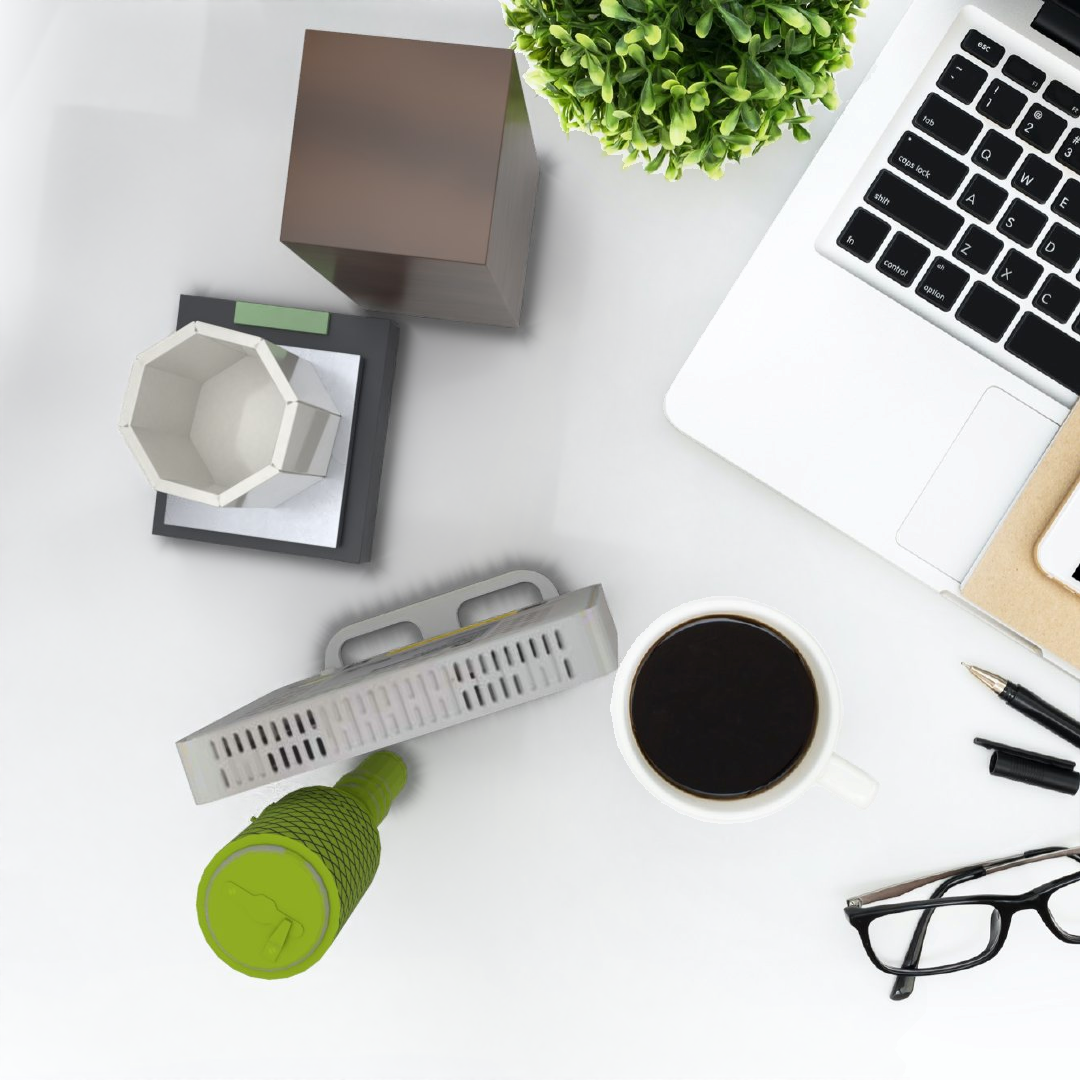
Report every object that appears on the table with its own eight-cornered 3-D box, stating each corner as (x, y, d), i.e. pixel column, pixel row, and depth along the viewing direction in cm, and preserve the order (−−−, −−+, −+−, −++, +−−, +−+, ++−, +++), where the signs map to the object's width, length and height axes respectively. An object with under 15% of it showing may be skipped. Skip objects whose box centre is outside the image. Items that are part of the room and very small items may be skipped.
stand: (383, 151, 71) (305, 28, 53) (540, 168, 70) (514, 48, 52) (363, 309, 71) (278, 241, 53) (518, 328, 70) (485, 265, 52)
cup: (208, 334, 68) (146, 307, 59) (352, 372, 67) (311, 350, 58) (172, 481, 68) (104, 476, 59) (314, 520, 67) (268, 521, 58)
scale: (198, 302, 72) (177, 292, 69) (400, 327, 71) (389, 318, 67) (170, 533, 73) (148, 534, 69) (370, 562, 72) (358, 564, 68)
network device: (312, 755, 72) (198, 848, 52) (277, 649, 72) (148, 701, 52) (626, 655, 70) (631, 712, 50) (589, 545, 70) (580, 558, 50)
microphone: (450, 756, 71) (363, 887, 47) (402, 840, 72) (291, 1014, 47) (360, 703, 72) (226, 805, 47) (313, 787, 72) (156, 932, 47)
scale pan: (192, 335, 69) (186, 333, 68) (364, 357, 68) (360, 355, 67) (169, 523, 69) (163, 524, 68) (339, 548, 68) (335, 548, 67)
